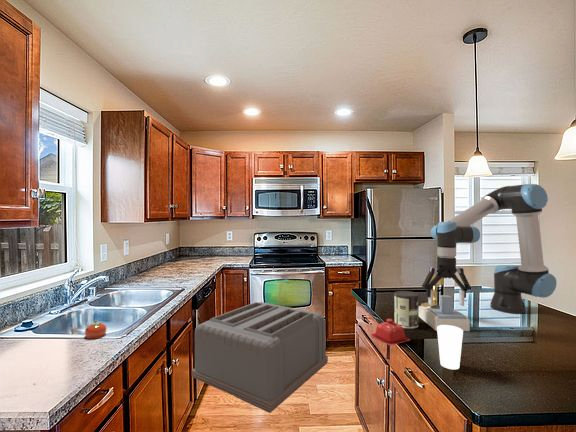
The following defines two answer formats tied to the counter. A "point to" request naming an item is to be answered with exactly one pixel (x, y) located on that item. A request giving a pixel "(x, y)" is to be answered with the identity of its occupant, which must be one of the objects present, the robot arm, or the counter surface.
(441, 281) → the l shaped latch
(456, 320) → the housing
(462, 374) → the counter surface
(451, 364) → the cup
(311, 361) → the toaster
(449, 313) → the cover
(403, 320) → the coffee can
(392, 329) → the butter dish
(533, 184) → the robot arm
